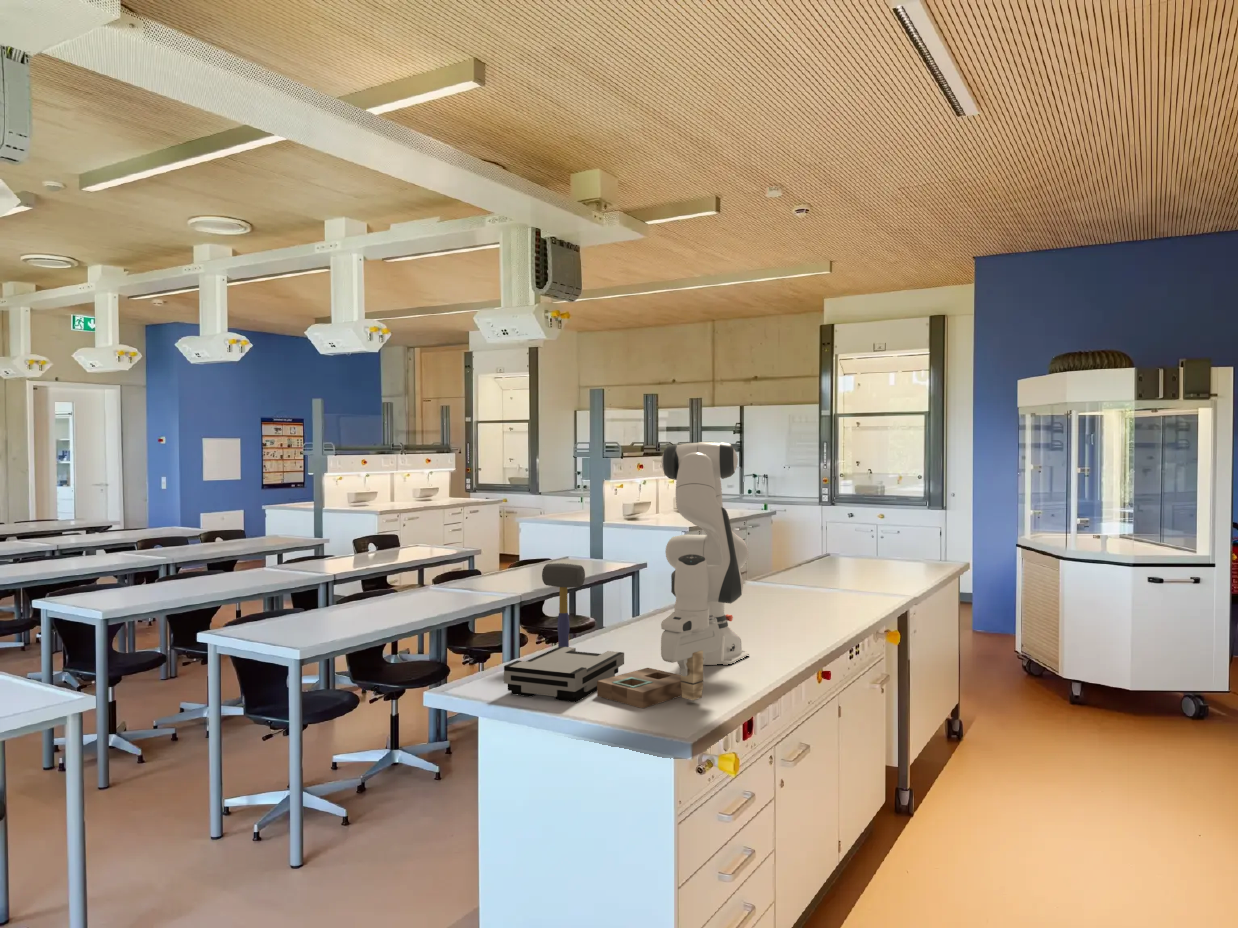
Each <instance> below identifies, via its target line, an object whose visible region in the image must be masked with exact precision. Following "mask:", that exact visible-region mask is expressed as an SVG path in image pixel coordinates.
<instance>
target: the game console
mask: <svg viewBox="0 0 1238 928" xmlns="http://www.w3.org/2000/svg"><path fill="white" fill-rule="evenodd" d="M623 665H625V652H624V651H623V652H622V651H613V650H607V651H604V652H603V653H597V652H596V653H595V652H587V651H586V652H585V651H577V649H576V647H572V646H571V647H570V646H569V647H561V646H560V647H558V646H557V647H555V648H553V649H551V650H548V651H546V652H544V653H542V654H539V655H536V656H535V657H532V658H530V659H528V660H526V661H525V660H519V659H518V660H515V661H512V662H510V663H508V664H506V665H504V666H503V684H507V691H508V692H510V693H511V695H513V694H518V695H517V696H521V695H524V696H523V697H529V696H532V697H533V695H534V696H536V695H542V696H548V697H549V696H550V697H555V699H556V700H555V699H554V700H555V701H562V702H569V701H570V702H571V703H578V702H579V701H581V700H582V698H583V699H585V698H586V697H588V696H589V695H591V694H593V693H594V692H597V681H599V680H603V679H606V678H610V677H614V676H616V674H618V673H619V668H620V667H622V666H623ZM535 694H536V695H535ZM570 702H569V703H570Z"/></svg>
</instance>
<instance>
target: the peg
mask: <svg viewBox="0 0 1238 928" xmlns="http://www.w3.org/2000/svg"><path fill="white" fill-rule="evenodd" d="M686 665H687V668H689V669H690V672H689V673H690V674H689V675H688V676H682V675H681V674H680V675H681V690H682V696H681V698H683V699H686V700H689V701H690V700H691V701H696V700H698V699H702V697H703V690H704V665H703V650H702V651H698V652H695V653H693V655H692V658H688V659H687V663H686Z"/></svg>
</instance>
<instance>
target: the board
mask: <svg viewBox="0 0 1238 928" xmlns="http://www.w3.org/2000/svg"><path fill="white" fill-rule="evenodd" d="M596 692H597V693H596V694H597V695H596V696H597V697H599V698H603V699H607V700H609V701H613V702H617V703H622V704H624V705H629V706H632V707H636V708H639V709H645V708H648V707H651V706H654V705H658V704H660V703H664V702H668V701H670V700H674V699H677V698H680V697H682V690H681V674H678V673H673V672H669V671H666V670H665V671H664V670H660V669H656V668H650V667H645V668H642V669H641V668H640V669H637V670H633V671H630V672H625V673H622V674H617V675H615V676H614V677H610V678H606V679H603V680H599V681H597V690H596ZM673 698H674V699H673Z"/></svg>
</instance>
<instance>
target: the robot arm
mask: <svg viewBox="0 0 1238 928" xmlns="http://www.w3.org/2000/svg"><path fill="white" fill-rule="evenodd" d="M660 462H661V467H662V471H663V472H664V473H663V474H664V475H665V476H666V477H667V478H668V479H669V480H674V481H675V504H676V509H677V511H678V513H679V514H680V516H682V517H683V518H684V519H685V520H686V521H688V522H690V523H691V524H692V525H695V526H697V527H699V528H700V529H702V531H703V532H704V533H705V534H687V533H686V534H681V535H675V536H672V537H671V538H670V539H669V540H668V542H667V543H666V545H665V557H666V560H667V562H668V564H669V565H670V566H671V567H672V568H674V569H675V570H673V572H672V573H671V574H670V575H671V576H670V577H671V578H670V579H671V582H670V583H671V593H672V594H673V596H674V597H675V603H674V611H673V612H672V613H671V614H670V615H669V616H667V617H666V618H664V619H663V620H662V621H661V622H660V627H661V630H663V631H662V634H661V637H660V655H661V658H662V661H664V662H667V663H673V664H674V663H677V664H678V667H679V669H680V675H682V676H688V675H689V674H690V673H689V672H690V669H689V668H687V665H686V663H687V659H688V658H692V655H693V653H695V652H698V651H702V650H703V666H706V665H707V666H712V665H713V666H718V665H717V664H723V666H729V665H728V664H732V663H734V662H735V661H738V660H740V659H741V658H743V657H746V656H747V655H749V656H750V653H749V652H748V651H745V650H743V649H742V648H743V647H742V638H741V637H740V635H738V634H737V633H736V632H735V631H733V629H731V627H729V623H728V621H729V622H732V621H733V619H734V616H733V614H725V604H730V605H731V604H732V603H734V602H736V601H737V600H738V599H739V598H740V597H741V596H742V594H743V590H744V580H743V576H742V573H741V570H740V569H742V568H743V567H744V566H745V564H746V563H747V562H748V558H749V548H748V545H747V543H746V541H745V540H744V539H743V538H742V537H740V536H739V535H737V534H736V533H735V532H734V531H733V530H732V525H731V521H730V517H729V514H728V512H727V509H726V508H724V505H723V491H722V490H723V489H722V480H724V479H727V478H730V477H732V476H733V475H734V474H735V472H736V469H737V467H738V454H737V452H736V449H735V447H734V446H733V444H731V443H728V442H722V441H721V442H711V441H710V442H709V441H699V442H690V443H689V442H688V443H681V444H677V443H674V444H672V445H671V444H670V445H667V446H666V448H665V449H663V454H662V456H661V461H660ZM721 479H722V480H721ZM740 661H741V660H740ZM738 662H739V661H738ZM734 664H735V663H734ZM732 665H733V664H732Z"/></svg>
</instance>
